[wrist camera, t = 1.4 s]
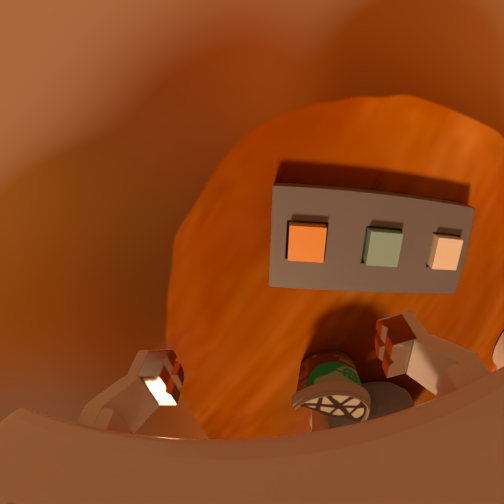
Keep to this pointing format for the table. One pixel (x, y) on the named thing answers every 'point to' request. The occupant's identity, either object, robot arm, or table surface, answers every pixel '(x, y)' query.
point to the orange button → (306, 241)
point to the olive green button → (382, 247)
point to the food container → (332, 386)
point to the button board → (353, 238)
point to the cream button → (444, 251)
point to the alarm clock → (382, 403)
